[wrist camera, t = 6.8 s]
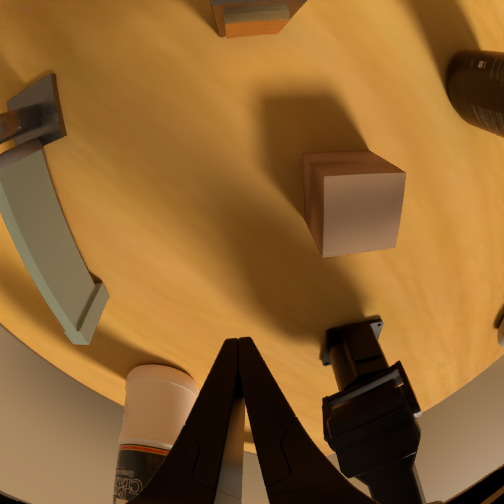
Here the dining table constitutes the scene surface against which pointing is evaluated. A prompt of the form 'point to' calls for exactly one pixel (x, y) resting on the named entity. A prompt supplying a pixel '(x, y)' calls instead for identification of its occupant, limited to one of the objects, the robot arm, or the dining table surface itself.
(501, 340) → the air freshener
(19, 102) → the hinge post
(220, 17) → the latch stile
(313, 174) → the reddish brown cube
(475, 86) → the supplement bottle
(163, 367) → the vodka
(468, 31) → the dining table surface
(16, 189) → the grey slab
